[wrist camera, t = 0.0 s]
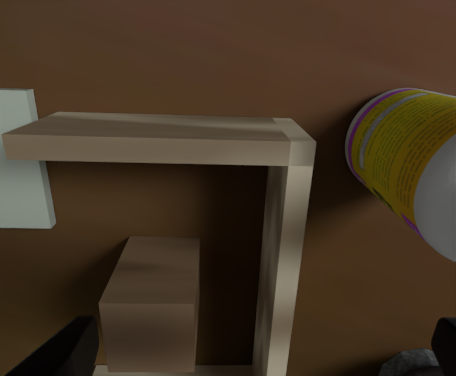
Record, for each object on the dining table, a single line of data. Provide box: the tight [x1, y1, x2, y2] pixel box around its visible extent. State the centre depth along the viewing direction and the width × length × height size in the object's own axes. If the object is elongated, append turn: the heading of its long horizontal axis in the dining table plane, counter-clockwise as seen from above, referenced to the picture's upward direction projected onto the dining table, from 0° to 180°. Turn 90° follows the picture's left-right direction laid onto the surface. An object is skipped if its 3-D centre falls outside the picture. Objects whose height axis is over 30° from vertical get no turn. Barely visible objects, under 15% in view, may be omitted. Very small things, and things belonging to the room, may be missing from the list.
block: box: [99, 236, 200, 372], centre depth 22 cm, size 5×5×7 cm
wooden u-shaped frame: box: [1, 112, 316, 376], centre depth 23 cm, size 22×14×6 cm, turn 178°
